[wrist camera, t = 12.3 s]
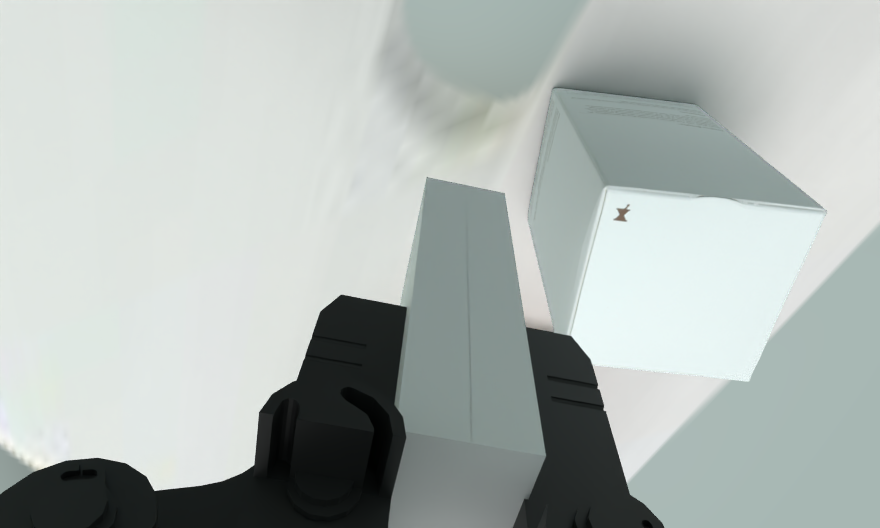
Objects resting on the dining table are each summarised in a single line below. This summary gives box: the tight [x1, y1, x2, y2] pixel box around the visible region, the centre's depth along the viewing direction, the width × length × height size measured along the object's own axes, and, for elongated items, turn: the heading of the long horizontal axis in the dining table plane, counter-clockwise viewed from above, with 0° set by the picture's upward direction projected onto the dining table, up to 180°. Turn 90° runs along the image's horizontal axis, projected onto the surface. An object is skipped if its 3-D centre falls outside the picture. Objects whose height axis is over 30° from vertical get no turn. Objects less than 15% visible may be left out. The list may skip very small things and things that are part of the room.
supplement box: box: [528, 88, 827, 381], centre depth 33 cm, size 9×9×15 cm
